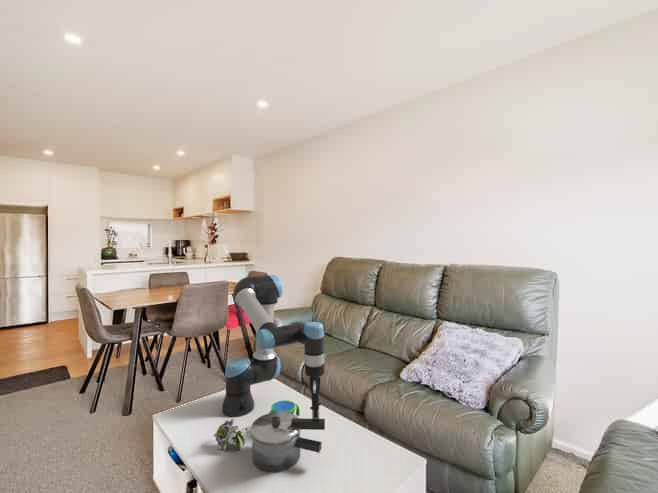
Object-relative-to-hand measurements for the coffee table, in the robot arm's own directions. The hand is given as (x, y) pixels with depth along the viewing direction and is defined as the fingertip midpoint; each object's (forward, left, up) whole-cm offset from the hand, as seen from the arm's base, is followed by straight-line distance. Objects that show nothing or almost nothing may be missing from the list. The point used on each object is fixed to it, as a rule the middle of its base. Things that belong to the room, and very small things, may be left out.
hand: (315, 423), depth 128 cm
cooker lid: (+5, -9, -1) cm, 11 cm away
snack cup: (-11, -20, -12) cm, 25 cm away
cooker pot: (+6, -9, -12) cm, 16 cm away
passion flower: (+6, -35, -12) cm, 37 cm away
